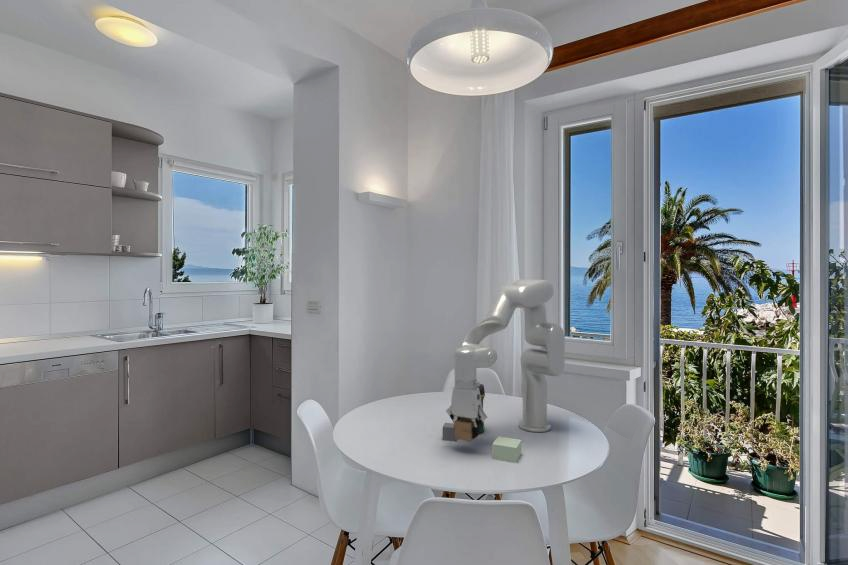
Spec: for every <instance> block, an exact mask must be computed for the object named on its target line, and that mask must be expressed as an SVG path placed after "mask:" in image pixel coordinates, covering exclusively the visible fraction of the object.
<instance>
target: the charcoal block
mask: <svg viewBox="0 0 848 565" xmlns="http://www.w3.org/2000/svg"><path fill="white" fill-rule="evenodd" d="M457 440H458V439H455V431H454V423H453V422H452V423H451V422H444V424H443V426H442V441H448V442H449V441H450V442H457Z"/></svg>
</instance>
